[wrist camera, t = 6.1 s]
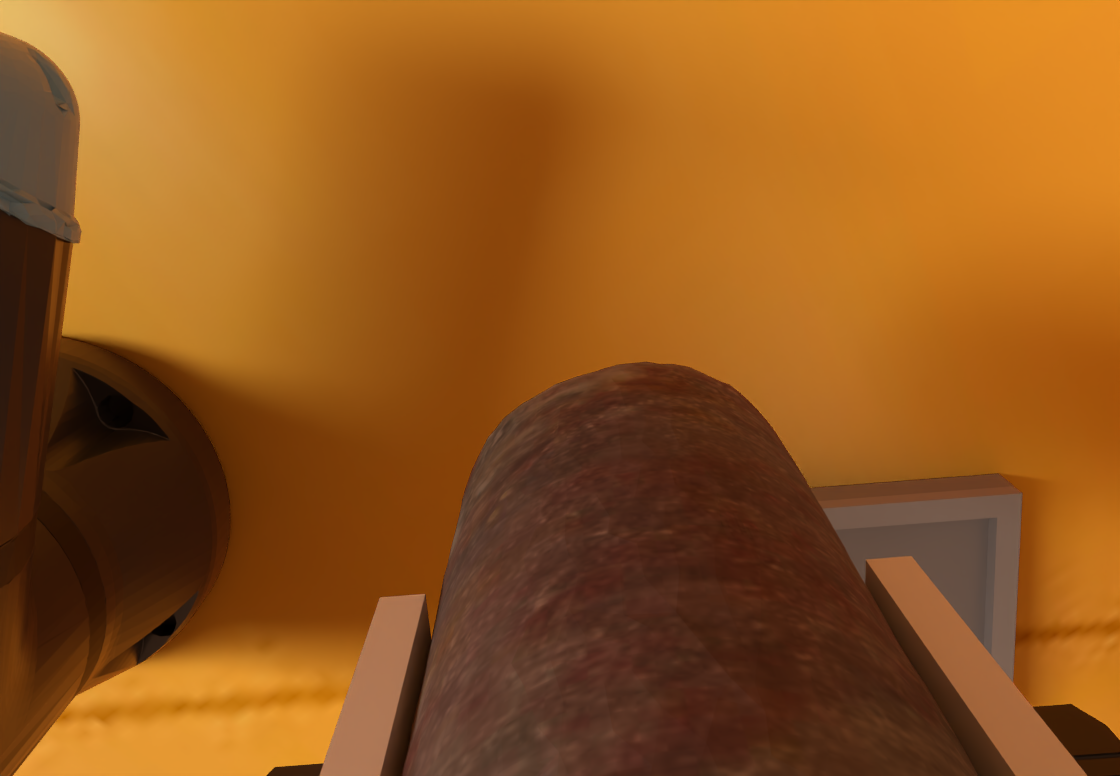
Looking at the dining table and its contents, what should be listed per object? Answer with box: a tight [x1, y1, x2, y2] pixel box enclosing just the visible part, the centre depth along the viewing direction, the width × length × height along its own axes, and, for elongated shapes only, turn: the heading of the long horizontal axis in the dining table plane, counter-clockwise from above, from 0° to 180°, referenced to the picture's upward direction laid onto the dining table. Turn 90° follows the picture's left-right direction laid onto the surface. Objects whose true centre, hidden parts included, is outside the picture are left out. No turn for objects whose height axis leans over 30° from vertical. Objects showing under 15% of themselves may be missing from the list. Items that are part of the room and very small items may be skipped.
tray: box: [810, 474, 1022, 682], centre depth 45 cm, size 16×16×2 cm
